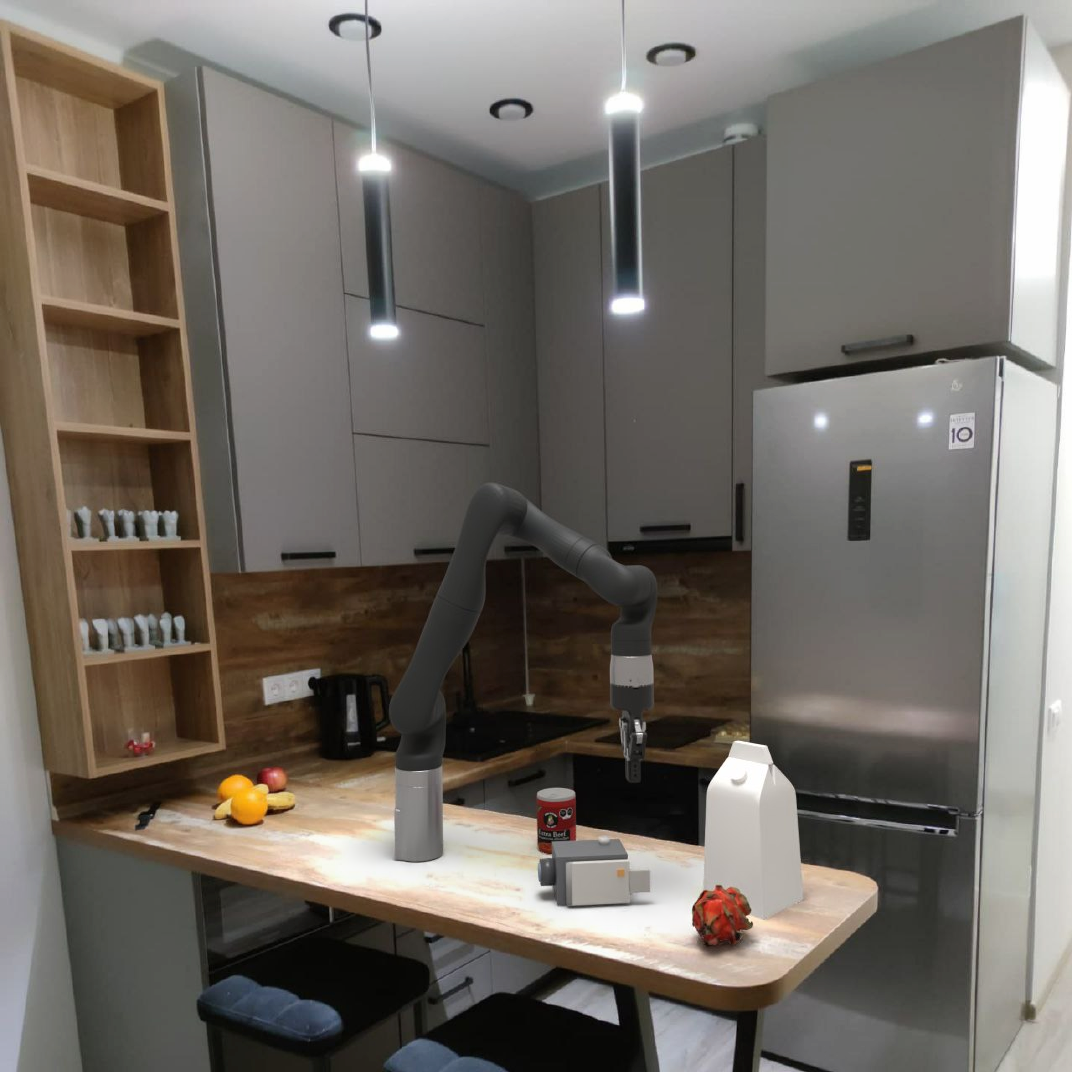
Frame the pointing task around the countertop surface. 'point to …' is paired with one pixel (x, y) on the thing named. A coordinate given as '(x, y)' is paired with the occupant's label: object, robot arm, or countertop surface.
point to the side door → (604, 882)
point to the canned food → (555, 817)
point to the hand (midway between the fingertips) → (633, 780)
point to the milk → (753, 831)
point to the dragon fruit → (721, 915)
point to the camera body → (575, 860)
